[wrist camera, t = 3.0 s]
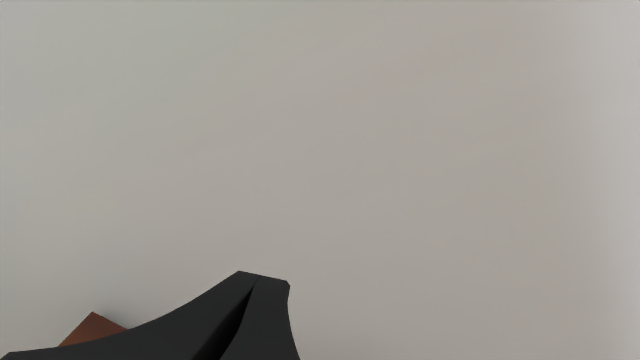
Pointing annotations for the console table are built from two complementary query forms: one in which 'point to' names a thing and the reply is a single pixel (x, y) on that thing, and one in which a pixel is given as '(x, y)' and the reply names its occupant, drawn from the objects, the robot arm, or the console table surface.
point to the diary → (92, 330)
